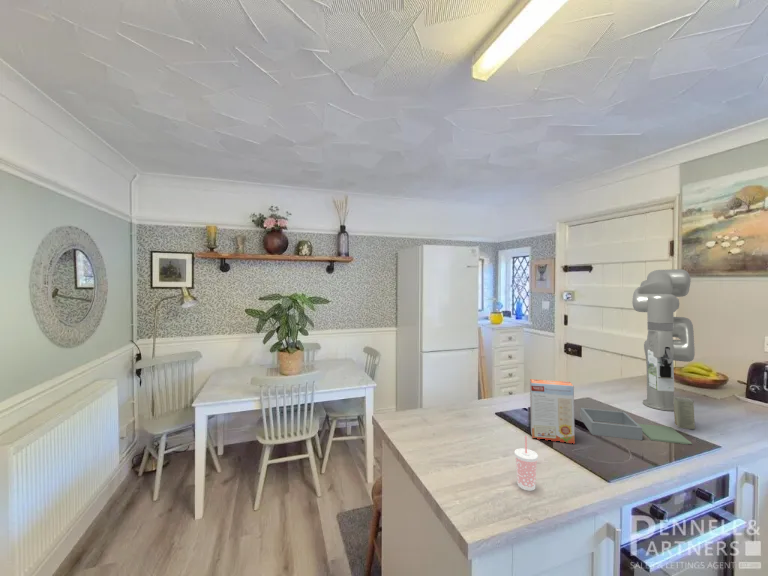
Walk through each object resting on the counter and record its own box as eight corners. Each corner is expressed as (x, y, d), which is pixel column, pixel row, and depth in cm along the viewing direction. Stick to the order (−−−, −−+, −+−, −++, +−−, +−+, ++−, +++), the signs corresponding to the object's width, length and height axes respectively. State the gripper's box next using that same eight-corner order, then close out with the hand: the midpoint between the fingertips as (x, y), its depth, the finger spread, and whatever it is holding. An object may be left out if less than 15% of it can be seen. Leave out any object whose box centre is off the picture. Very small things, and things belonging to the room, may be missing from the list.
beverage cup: (513, 477, 94) (513, 429, 94) (536, 481, 93) (536, 432, 93) (515, 490, 88) (515, 439, 89) (540, 494, 87) (539, 442, 87)
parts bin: (580, 418, 137) (580, 407, 137) (624, 422, 132) (624, 411, 132) (591, 434, 122) (591, 422, 122) (642, 440, 117) (642, 427, 117)
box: (690, 425, 129) (690, 398, 129) (695, 429, 125) (694, 401, 125) (673, 423, 132) (673, 396, 132) (677, 427, 128) (677, 399, 128)
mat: (634, 424, 130) (634, 423, 130) (671, 428, 127) (671, 427, 127) (651, 440, 117) (651, 438, 117) (692, 445, 113) (692, 443, 113)
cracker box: (571, 437, 120) (570, 381, 120) (575, 444, 114) (574, 385, 114) (530, 432, 124) (529, 378, 124) (531, 439, 119) (531, 382, 119)
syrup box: (675, 391, 118) (674, 352, 119) (656, 390, 120) (656, 351, 120) (664, 387, 124) (664, 349, 124) (647, 386, 125) (647, 349, 125)
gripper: (638, 324, 131) (638, 368, 131) (659, 329, 115) (660, 380, 115) (660, 325, 129) (661, 369, 129) (685, 330, 113) (686, 381, 113)
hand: (660, 374), depth 122 cm, fingers closed on syrup box, 6 cm apart
